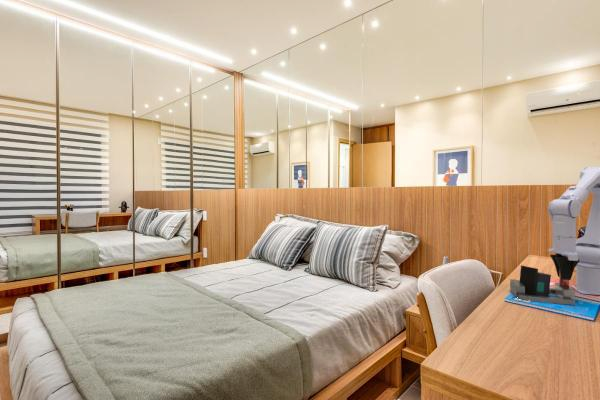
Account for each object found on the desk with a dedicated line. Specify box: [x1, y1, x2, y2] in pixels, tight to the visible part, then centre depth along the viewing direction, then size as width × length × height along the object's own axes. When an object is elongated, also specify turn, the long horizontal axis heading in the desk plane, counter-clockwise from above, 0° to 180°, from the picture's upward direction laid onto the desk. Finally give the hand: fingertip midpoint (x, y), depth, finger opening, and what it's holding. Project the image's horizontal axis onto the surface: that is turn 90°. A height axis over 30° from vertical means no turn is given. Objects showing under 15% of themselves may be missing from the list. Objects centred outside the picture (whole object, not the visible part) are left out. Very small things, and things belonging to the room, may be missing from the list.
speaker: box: [519, 264, 551, 297], centre depth 100 cm, size 8×6×10 cm
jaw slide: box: [554, 269, 576, 302], centre depth 98 cm, size 3×8×10 cm, turn 156°
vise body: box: [509, 278, 576, 306], centre depth 100 cm, size 14×12×4 cm
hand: (564, 278), depth 97 cm, fingers closed on jaw slide, 2 cm apart
